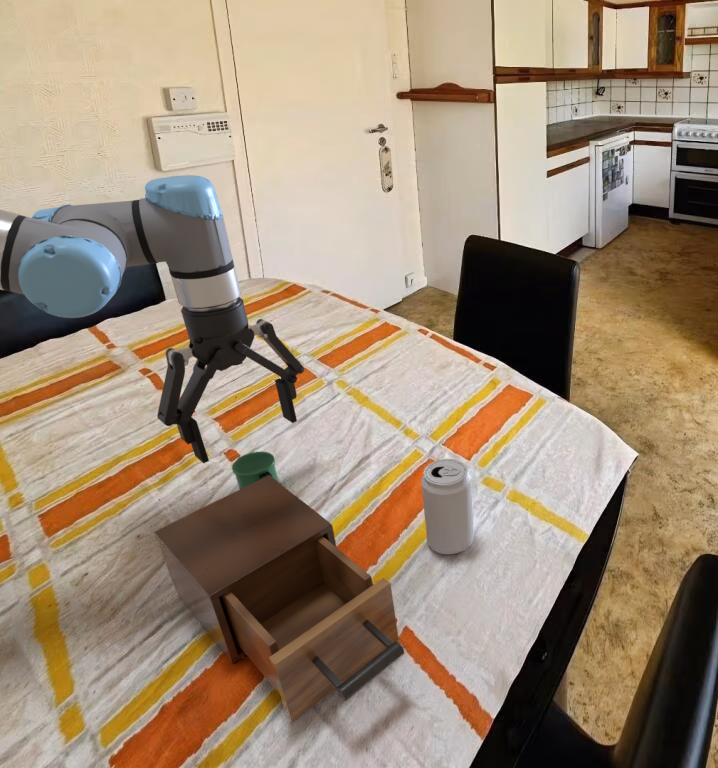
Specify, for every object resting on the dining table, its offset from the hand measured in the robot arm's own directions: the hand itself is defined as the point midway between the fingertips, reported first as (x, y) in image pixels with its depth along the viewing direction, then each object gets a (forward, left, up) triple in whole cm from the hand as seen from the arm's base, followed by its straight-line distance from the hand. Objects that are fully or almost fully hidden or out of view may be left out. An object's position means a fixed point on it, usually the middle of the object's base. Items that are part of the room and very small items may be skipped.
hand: (248, 438), depth 91 cm
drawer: (+34, -10, -9) cm, 37 cm away
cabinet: (+19, -10, -10) cm, 24 cm away
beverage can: (+30, +12, -10) cm, 34 cm away
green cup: (0, 0, -10) cm, 10 cm away
